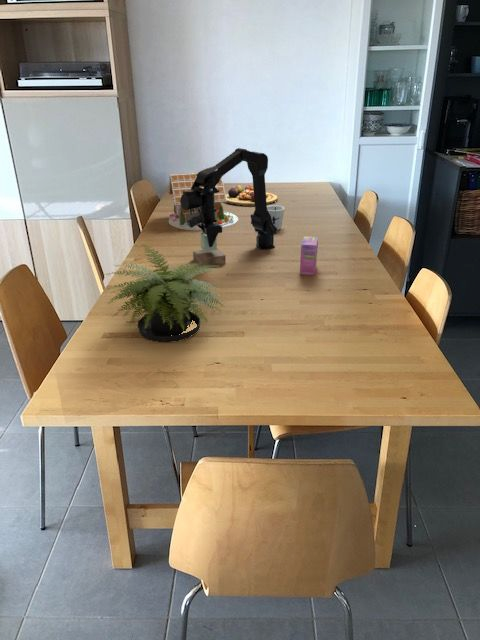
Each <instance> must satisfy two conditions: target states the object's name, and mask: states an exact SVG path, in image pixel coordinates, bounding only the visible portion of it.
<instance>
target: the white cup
mask: <svg viewBox="0 0 480 640" xmlns="http://www.w3.org/2000/svg"><path fill="white" fill-rule="evenodd" d="M267 210H268V212H269V214H270V215H271V219H272V224H273V225H274V226H275V227H276V228H277V231H279V229H280V230H281V229H282V226H283V220H284V214H285V210H286V209H285V207H284V206H281V205H279V204H278V205H276V204H275V205H274V204H273V205H271V204H268V205H267Z"/></svg>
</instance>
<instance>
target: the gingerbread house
mask: <svg viewBox="0 0 480 640" xmlns="http://www.w3.org/2000/svg"><path fill="white" fill-rule="evenodd" d="M198 173H199V172H192V173H189V172H188V173H175V174H174V173H171V174H169V178H168V179H169V181H168V192H167V193H168V195H169V196H171V195H172V197H173V213H172V214H170V215H169V217H168V223H169V225H170V226H172V227H174V228H177V229H181V230H188V231H202V229H201V228H199V227H198V226H197V225H198V224H197V225H195V226H194V227H192V228H190V227H189V226H188V224H187V221H186V219H185V218H186V217H187V216H189V215H191V214H194V213H196V212H198V209H199V208H194V209H189V210H184V209H183V208H182V206H181V203H180V199H181V196H182V195H183V191H190V190H191V187H192V185H193V183H194V182H195V180H196V177H197V176H196V175H197V174H198ZM223 180H224V179H223V176H222V177H221V179H220V182H219V183H218V184H217V185H216V186H215V187H216V189H217V190H219V193H214V196H215V208H216V212H215V219H216V220H217V222H215V223H218V224H219V225H220V226H221V227H222V229H226V228H229V227H232V226H234V225H236V224H237V223H238V222H239V217H238V216H237V215H235V214H233V213H231V212H228V211H224V207H223V203H226V202H227V199H226V188H225V185H224V181H223ZM199 187H201V186H199ZM201 188H204V187H201ZM237 221H238V222H237ZM236 222H237V223H236ZM235 223H236V224H235ZM233 224H234V225H233ZM231 225H232V226H231ZM228 226H229V227H228ZM225 227H226V228H225Z"/></svg>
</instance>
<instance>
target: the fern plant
mask: <svg viewBox="0 0 480 640" xmlns="http://www.w3.org/2000/svg"><path fill="white" fill-rule="evenodd" d="M142 247H144V256H146V257H147V258H146V260H147V262H148V263H152V264H154V265H151V264H150V266H151V267H152V268H155V269H153V270H152V269H150V268H147V267H146V266H144V265H141V264H137V263H134V264H133V263H131V262H130V263H125V264H124V263H122V264H117V265H115V264H114V265H113V266H114V267H123V268H127V269H129V271H128V270H126V269H125V270H122V271H120V270H118V271H117V272H116V271H114V272H113V271H111V273H110V272H109V273H104V274H103V275H107V276H108V275H111V274H114V275H119V276H122V275H124V277H126V276H130V275H131V277H132V278H134V277H137V279H136V280H135V279H134V280H130V281H129V282H127V281H124V283H118V284H114V285H113V288H114V289H115V288H116V289H117V288H118V289H117V290H114V291H111V293H115V292H118V293H116V294H115V296H113V297H112V298H110V299H109V301H107V304H112V302H116V300H120V299H125V297H126V299H127V298H129V299H128V300H129V301H125V302H124V303H125V304H123V305H121V306H120V307H121V308H119V309H117V312H115V313H114V315H112V316H111V317H112V318H113V317H114V316H118V313H121V312H124V311H125V312H124V315H123V316H122V317H123V318H124V317H125V316H128V314H130V311H133V312H132V316H130V319H131V320H130V323H129V325H128V326H131V324H133V323H134V322H136V320H137V318H139V317H140V316H142V315H143V314H144V315H143V316H142V317H141V318H139V320H138V322H137V329H138V333H139V334H140V336H141V337H142V336H143V337H142V338H144V339H146V340H147V339H148V341H151V340H152V342H155V341H158V342H157V343H173V342H172V341H176V342H180V341H179V340H181V341H183V340H182V339H184V340H186V339H185V338H187V339H189V338H188V337H190V336H191V335H193V334H195V333H196V332H197V331H198V330H199V331H200V329H199V328H200V327H201V321H202V320H204V321H205V322H206V323H208V318H207V317H206V316H205V314H204V312H203V311H202V308H201V306H203V305H204V306H205V307H206V308H209V309H211V310H214V311H215V310H217V311H219V312H220V313H222V311H221V309H220V308H218V306H217V305H220V306H222V307H225V305H224V304H222V303H225V304H227V303H226V301H225V300H223V299H221V298H219V297H217V296H220V297H221V295H220V294H219V293H218V292H216V291H214V290H216V289H217V290H220V291H222V289H221V288H219V287H217V286H214V285H213V283H211V284H210V283H208V282H206V281H203V280H199V279H198V280H197V279H196V278H194V277H196V276H198V275H202V274H203V273H206V272H209V271H213V270H217V268H215V267H217V266H210V265H209V266H210V267H208V266H207V265H205V266H204V265H203V266H201V265H200V266H201V267H200V266H199V265H198V264H197V263H196V262H195V263H189V264H187V263H185V264H184V265H183V264H181V265H180V266H178V267H176V266H175V267H172V266H170V264H167V263H168V260H166V261H165V259H166V258H165V255H163V254H162V253H159V250H155V249H154V248H151V247H150V246H147V245H145V244H143V245H142ZM145 253H146V254H145ZM162 256H163V257H162ZM166 264H167V265H166ZM206 266H207V267H206ZM170 267H171V268H170ZM140 271H141V272H140ZM193 278H194V279H193ZM110 289H111V287H108V288H107V290H110ZM130 297H131V298H130ZM197 303H198V304H197ZM216 306H217V307H216ZM192 320H193V321H195V323H196V324H197V327H196V328H194V329H193V330H191V331H189V332H187V333H183V334H181V333H182V332H183V331H186V329H187V328H188V327H187V326H188V325H189V327H190V324H191V322H192ZM192 324H193V323H192ZM199 331H198V332H199ZM198 332H197V333H198ZM197 333H196V334H197ZM179 334H180V335H179ZM196 334H195V335H196ZM171 335H172V336H171ZM193 336H194V335H193ZM191 337H192V336H191ZM191 337H190V338H191Z"/></svg>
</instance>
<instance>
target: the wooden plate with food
mask: <svg viewBox="0 0 480 640" xmlns="http://www.w3.org/2000/svg"><path fill="white" fill-rule="evenodd" d="M227 192H228V193H227V194H226V193H225V195H226V199H227V202H225V203H226V204H228V203H230V204H229V205H233V204H235V205H234V206H240V205H243V206H242V207H255V201H254V189H253V185H252V186H251V185H246V186H245V188H243V186H241V185H240V184H238V185H236V186H232V187H230V189H229V190H228V191H227ZM278 199H279V198H278V196H277V195H276V194H273V193H270V192H267V191H266V202H267V204H268V205H271V204H270V203H272V204H274V203H273V202H275V201H276V202H278ZM276 202H275V203H276Z"/></svg>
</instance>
